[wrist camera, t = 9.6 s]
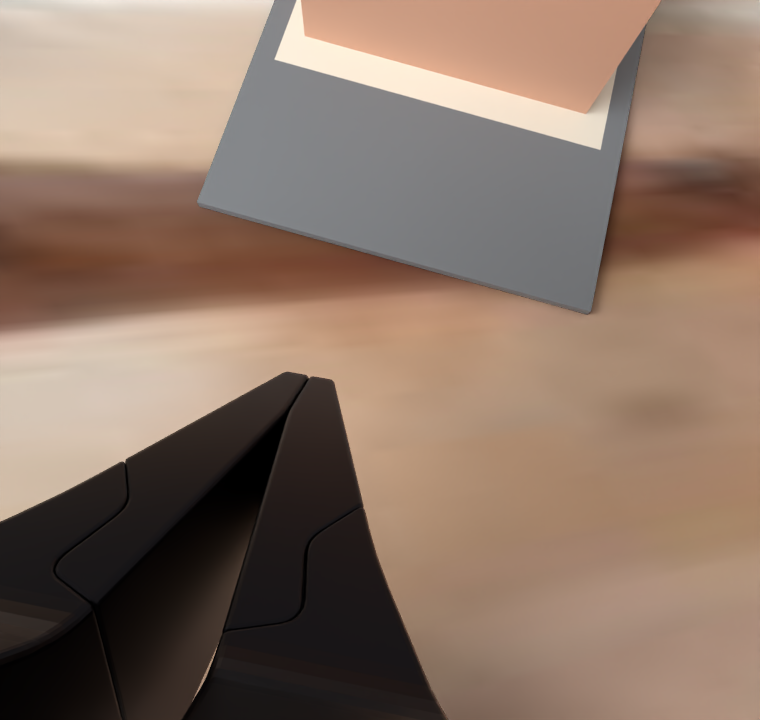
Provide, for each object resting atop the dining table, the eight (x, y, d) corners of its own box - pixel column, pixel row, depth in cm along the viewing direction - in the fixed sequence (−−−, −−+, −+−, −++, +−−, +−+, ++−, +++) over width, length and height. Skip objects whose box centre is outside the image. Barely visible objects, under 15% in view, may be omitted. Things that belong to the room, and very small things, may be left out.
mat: (586, 314, 23) (591, 311, 23) (199, 206, 23) (197, 201, 23) (662, -78, 28) (667, -86, 27) (342, -166, 28) (342, -175, 27)
